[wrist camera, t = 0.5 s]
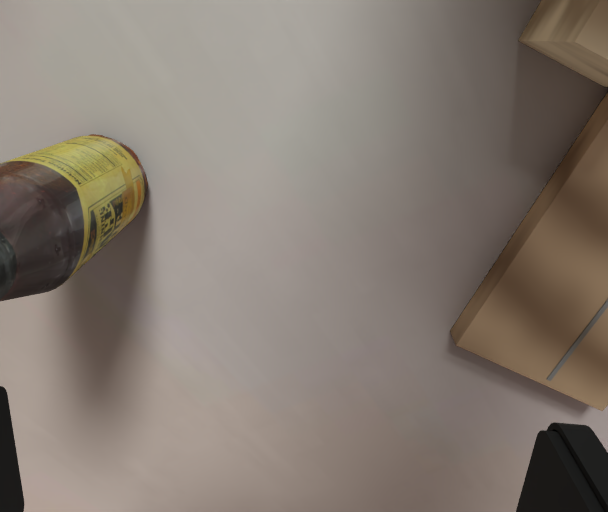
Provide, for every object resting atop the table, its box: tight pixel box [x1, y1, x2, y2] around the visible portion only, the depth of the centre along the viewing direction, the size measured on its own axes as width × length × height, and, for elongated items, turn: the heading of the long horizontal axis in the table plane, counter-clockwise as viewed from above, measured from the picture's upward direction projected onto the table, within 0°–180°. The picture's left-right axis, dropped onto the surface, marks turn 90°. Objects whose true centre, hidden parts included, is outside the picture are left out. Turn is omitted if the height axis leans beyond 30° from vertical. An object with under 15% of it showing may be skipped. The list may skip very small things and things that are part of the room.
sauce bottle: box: [0, 135, 148, 301], centre depth 27 cm, size 7×6×20 cm
